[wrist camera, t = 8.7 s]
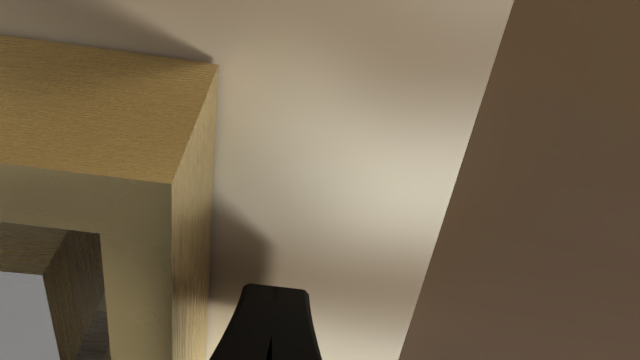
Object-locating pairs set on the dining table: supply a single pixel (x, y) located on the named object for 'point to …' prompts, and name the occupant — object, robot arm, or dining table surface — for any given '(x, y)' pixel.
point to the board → (315, 139)
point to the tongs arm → (47, 290)
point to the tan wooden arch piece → (118, 178)
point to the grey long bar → (96, 340)
